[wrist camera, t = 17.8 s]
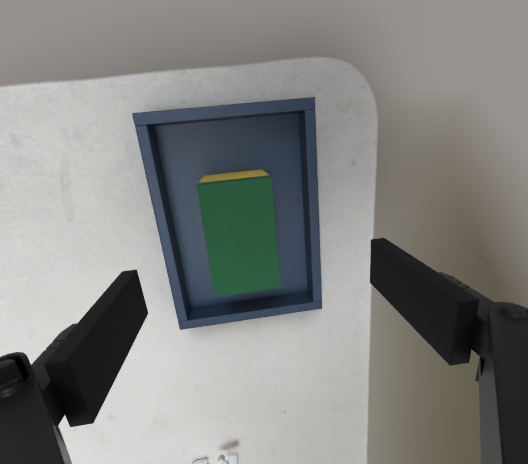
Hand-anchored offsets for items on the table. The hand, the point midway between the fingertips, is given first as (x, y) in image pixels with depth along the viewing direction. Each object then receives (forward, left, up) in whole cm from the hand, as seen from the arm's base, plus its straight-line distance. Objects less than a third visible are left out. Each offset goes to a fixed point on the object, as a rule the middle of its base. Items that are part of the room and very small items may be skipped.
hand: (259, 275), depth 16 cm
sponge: (+1, 0, -15) cm, 15 cm away
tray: (+1, 0, -16) cm, 16 cm away
